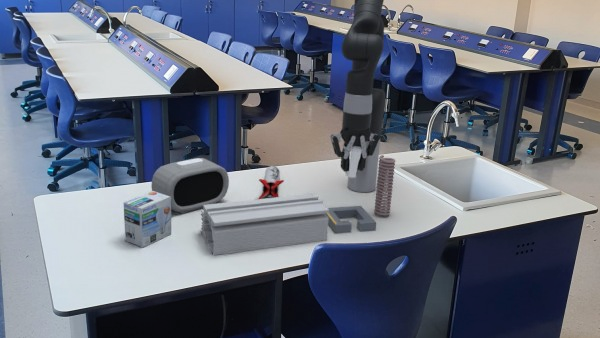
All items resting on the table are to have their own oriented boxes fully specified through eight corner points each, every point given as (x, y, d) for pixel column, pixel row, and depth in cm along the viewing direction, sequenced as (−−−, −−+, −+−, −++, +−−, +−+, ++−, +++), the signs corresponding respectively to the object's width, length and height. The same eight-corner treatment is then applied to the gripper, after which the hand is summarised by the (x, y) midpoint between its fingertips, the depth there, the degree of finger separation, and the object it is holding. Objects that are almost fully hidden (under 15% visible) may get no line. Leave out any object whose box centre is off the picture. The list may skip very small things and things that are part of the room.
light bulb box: (143, 248, 151) (141, 208, 148) (124, 241, 154) (121, 202, 151) (172, 233, 160) (172, 195, 156) (154, 227, 163) (153, 190, 159)
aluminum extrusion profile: (201, 232, 162) (200, 198, 158) (306, 220, 173) (308, 187, 170) (214, 256, 149) (214, 219, 146) (326, 241, 161) (329, 206, 157)
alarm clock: (168, 218, 169) (167, 173, 164) (152, 207, 175) (150, 163, 171) (229, 202, 182) (229, 160, 177) (211, 192, 188) (211, 151, 184)
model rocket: (294, 171, 205) (275, 150, 203) (294, 192, 182) (272, 168, 180) (270, 191, 207) (251, 170, 204) (267, 214, 184) (245, 190, 182)
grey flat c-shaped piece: (321, 215, 175) (322, 207, 175) (360, 213, 179) (361, 204, 178) (334, 233, 165) (335, 224, 164) (375, 230, 168) (376, 221, 167)
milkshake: (361, 180, 165) (365, 145, 161) (341, 177, 165) (346, 142, 162) (363, 174, 169) (367, 140, 166) (344, 172, 170) (348, 137, 166)
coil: (391, 213, 180) (397, 156, 174) (386, 219, 176) (393, 160, 170) (376, 210, 181) (382, 153, 175) (371, 215, 177) (377, 157, 171)
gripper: (376, 106, 166) (371, 164, 172) (327, 106, 162) (323, 167, 168) (387, 112, 159) (381, 173, 165) (336, 113, 156) (332, 176, 161)
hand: (352, 170), depth 166 cm, fingers closed on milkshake, 4 cm apart
